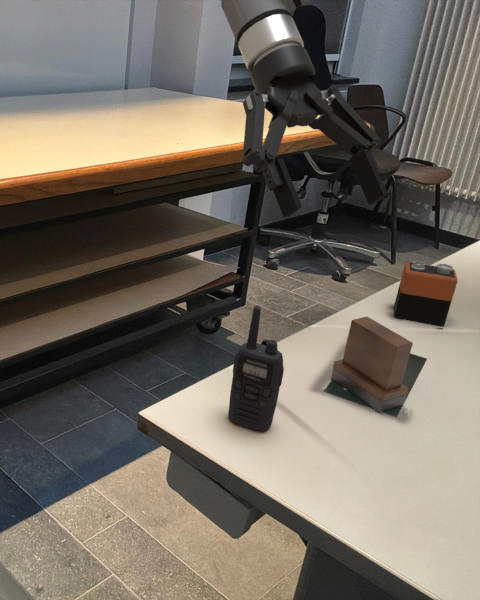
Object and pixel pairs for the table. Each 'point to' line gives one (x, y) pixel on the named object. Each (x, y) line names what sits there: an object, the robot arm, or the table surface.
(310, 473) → the table surface
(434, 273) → the battery
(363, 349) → the eraser
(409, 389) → the chalkboard
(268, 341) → the two-way radio
